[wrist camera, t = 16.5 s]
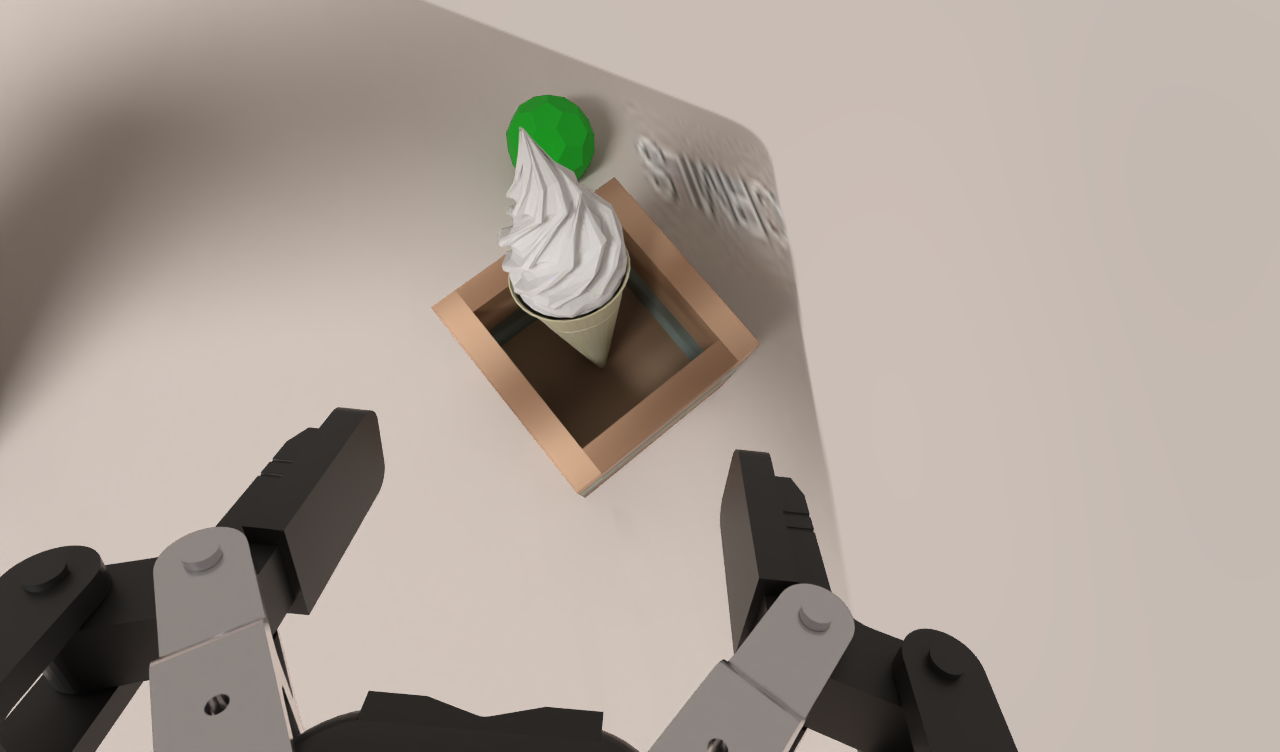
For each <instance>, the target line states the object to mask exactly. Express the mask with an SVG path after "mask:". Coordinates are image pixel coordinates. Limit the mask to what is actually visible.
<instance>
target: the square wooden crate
mask: <svg viewBox="0 0 1280 752" xmlns="http://www.w3.org/2000/svg"><path fill="white" fill-rule="evenodd" d="M594 193H596V194H597V195H599V196H600V197H601V198H603V199H604V200H606V201H607V202H609V203H610V204H611V205H612V207H613V209H614V211H615V213H616V215H617V217H618V220H619V222H620V224H621V226H622V231H623V237H624V243H625V246H626V248H627V250H628V253H629V257H630V273H629V278H628V280H627V283H626V285H625V287H624V289H623V291H622V297H621V301H620V306H619V310H618V314H617V319H616V323H615V327H614V332H613V336H612V340H611V345H610V349H609V353H608V358H607V362H606V365H605V367H603V368H599V367H598V366H596V365H595V364H594V363H593V362H591V361H590V360H589V359H588V358H586V357H585V356H584V355H583V354H581V353H580V352H579V351H578V350H576V349H575V348H574V347H573V346H571V345H570V344H569V343H568V342H566V341H565V340H564V339H563V338H561V337H560V336H559V335H558V334H557V333H555V332H554V331H553V330H552V329H550V328H549V327H548V326H547V325H546V324H545V323H543V322H542V321H541V320H540V319H538V318H536V317H534V316H531V315H530V314H528V313H527V312H525V311H524V310H523V309H522V308H521V307H520V306H519V305H518V304H517V303H516V301H515V300H514V298H513V297H512V294H511V292H510V289H509V283H508V275H509V272H505V271H503V269H502V262H503V260H504V258H505V256H506V255H504V256H503V257H501V258H500V259H499V260H497V261H496V262H494V263H493V264H492V265H490V266H489V267H487V268H486V269H485V270H483V271H482V272H480V273H479V274H478V275H476V276H475V277H473V278H472V279H470V280H469V281H468V282H466V283H465V284H463V285H462V286H461V287H459V288H458V289H456V290H455V291H454V292H452V293H451V294H449V295H448V296H447V297H445V298H444V299H442V300H441V301H440V302H438V303H437V304H435V305H434V306H432V307H431V308H432V309H433V311H434V312H435V313H436V314H437V316H438V317H439V318H440V320H441V321H442V322H443V323H444V325H445V326H446V327H447V328H448V330H449V331H450V332H451V334H452V335H453V336H454V337H455V339H456V340H457V341H458V342H459V344H460V345H461V346H462V347H463V349H464V350H465V351H466V353H467V354H468V355H469V356H470V358H471V359H472V360H473V361H474V363H475V364H476V365H477V367H478V368H479V369H480V370H481V372H482V373H483V374H484V375H485V377H486V378H487V379H488V381H489V382H490V383H491V384H492V386H493V387H494V388H495V389H496V391H497V392H498V393H499V395H500V396H501V397H502V398H503V400H504V401H505V402H506V403H507V405H508V406H509V407H510V409H511V410H512V411H513V412H514V414H515V415H516V416H517V417H518V419H519V420H520V421H521V422H522V424H523V425H524V426H525V428H526V429H527V430H528V431H529V433H530V434H531V435H532V436H533V438H534V439H535V440H536V442H537V443H538V444H539V445H540V447H541V448H542V449H543V450H544V452H545V453H546V454H547V456H548V457H549V458H550V459H551V461H552V462H553V463H554V464H555V466H556V467H557V468H558V470H559V471H560V472H561V473H562V475H563V476H564V477H565V478H566V480H567V481H568V482H569V484H570V485H571V486H572V487H573V489H574V490H575V491H576V492H577V493H578V494H580V495H581V496H583V497H587V496H588V495H589V494H590V493H592V492H593V491H594V490H595V489H596V488H598V487H599V486H600V485H601V484H603V483H604V482H605V481H606V480H607V479H609V478H610V477H611V476H612V475H614V474H615V473H616V472H617V471H618V470H620V469H621V468H622V467H623V466H624V465H626V464H627V463H628V462H629V461H631V460H632V459H633V458H634V457H635V456H637V455H638V454H639V453H640V452H642V451H643V450H644V449H645V448H646V447H648V446H649V445H650V444H651V443H653V442H654V441H655V440H656V439H657V438H659V437H660V436H661V435H662V434H664V433H665V432H666V431H667V430H668V429H670V428H671V427H672V426H673V425H674V424H676V423H677V422H678V421H679V420H681V419H682V418H683V417H684V416H685V415H687V414H688V413H689V412H690V411H692V410H693V409H694V408H695V407H696V406H698V405H699V404H700V403H701V402H703V401H704V400H705V399H706V398H707V397H709V396H710V395H711V394H712V393H713V392H715V391H716V390H717V389H718V388H720V387H721V386H722V385H723V384H724V383H725V382H726V381H727V379H728V378H729V377H730V376H731V375H732V374H733V373H734V372H735V371H736V369H737V368H738V367H739V366H740V365H741V364H742V363H743V362H744V361H745V360H746V358H747V357H748V356H749V355H750V354H751V353H752V352H753V351H754V350H755V348H756V347H757V346H758V345H759V344H760V343H759V342H758V341H757V339H756V338H755V337H754V336H753V335H752V334H751V333H750V331H749V330H748V329H747V328H746V327H745V326H744V325H743V323H742V322H741V321H740V320H739V319H738V318H737V317H736V315H735V314H734V313H733V312H732V311H731V310H730V309H729V307H728V306H727V305H726V304H725V303H724V302H723V301H722V299H721V298H720V297H719V296H718V295H717V294H716V293H715V291H714V290H713V289H712V288H711V287H710V286H709V285H708V283H707V282H706V281H705V280H704V279H703V278H702V277H701V275H700V274H699V273H698V272H697V271H696V270H695V269H694V267H693V266H692V265H691V264H690V263H689V262H688V261H687V259H686V258H685V257H684V256H683V255H682V254H681V253H680V251H679V250H678V249H677V248H676V247H675V246H674V245H673V243H672V242H671V241H670V240H669V239H668V238H667V237H666V235H665V234H664V233H663V232H662V231H661V230H660V229H659V228H658V226H657V225H656V224H655V223H654V222H653V221H652V220H651V218H650V217H649V216H648V215H647V214H646V213H645V212H644V210H643V209H642V208H641V207H640V206H639V205H638V204H637V202H636V201H635V200H634V199H633V198H632V197H631V196H630V194H629V193H628V192H627V191H626V190H625V189H624V188H623V186H622V185H621V184H620V183H619V182H618V181H617V180H616V178H615V177H614V178H613V179H611V180H610V181H608V182H607V183H606V184H604V185H603V186H601V187H600V188H599V189H597V190H596V191H594ZM511 251H512V250H511Z"/></svg>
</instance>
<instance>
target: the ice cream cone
mask: <svg viewBox="0 0 1280 752" xmlns="http://www.w3.org/2000/svg"><path fill="white" fill-rule="evenodd" d="M519 128H520V127H519ZM506 197H508V198H512V199H514V200H515V202H516V204H515V205H513V206H510V207H509V208H508V210H507V211H506V213H507V214H508V215H509V216H511V217H512V218H513V226H511V227H507V228H503V229H501V230H500V231H499V232H498V244H499V245H500V247H504V246H511V247H512V251H508V252H507V254H506V256H505V258H504V260H503V262H502V269H503V271H505V272H509V275H508V283H509V289H510V292H511V294H512V297H513V298H514V300H515V301H516V303H517V304H518V305H519V306H520V307H521V308H522V309H523V310H524V311H525V312H527V313H528V314H530V315H531V316H534V317H536V318H538V319H540V320H541V321H542V322H543V323H545V324H546V325H547V326H548V327H549V328H550V329H552V330H553V331H554V332H555V333H557V334H558V335H559V336H560V337H561V338H563V339H564V340H565V341H566V342H568V343H569V344H570V345H571V346H573V347H574V348H575V349H576V350H578V351H579V352H580V353H581V354H583V355H584V356H585V357H586V358H588V359H589V360H590V361H591V362H593V363H594V364H595V365H596V366H598V367H599V368H603V367H605V365H606V362H607V358H608V353H609V349H610V345H611V340H612V336H613V332H614V327H615V323H616V319H617V314H618V310H619V306H620V301H621V297H622V291H623V289H624V287H625V285H626V283H627V280H628V278H629V273H630V257H629V253H628V250H627V248H626V246H625V243H624V237H623V231H622V226H621V224H620V222H619V220H618V217H617V215H616V213H615V211H614V209H613V207H612V205H611V204H610V203H609V202H607V201H606V200H604V199H603V198H601V197H600V196H599V195H597V194H596V193H594V192H593V191H591V190H590V189H589V188H587V187H586V186H584V185H580V184H579V183H578V181H577V178H576V176H575V173H574V172H573V171H571V170H569V169H568V168H566V167H564V166H562V165H560V164H558V163H557V162H555V161H554V160H553V159H552V158H551V157H550V156H549V155H548V154H547V153H546V152H545V151H544V150H543V149H542V148H541V147H540V146H539V145H538V144H537V143H536V142H535V141H534V140H533V139H532V138H531V137H530V135H529V134H528V133H527V132H526V131H525V130H524V129H523V128H520V132H519V146H518V156H517V163H516V170H515V177H514V182H513V183H512V185H511V187H510V188H509V190H508V192H507V193H506Z"/></svg>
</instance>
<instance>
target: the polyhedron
mask: <svg viewBox="0 0 1280 752" xmlns="http://www.w3.org/2000/svg"><path fill="white" fill-rule="evenodd" d="M519 127H520V128H523V129H524V130H525V131H526V132H527V133H528V134H529V135H530V137H531V138H532V139H533V140H534V141H535V142H536V143H537V144H538V145H539V146H540V147H541V148H542V149H543V150H544V151H545V152H546V153H547V154H548V155H549V156H550V157H551V158H552V159H553V160H554V161H555V162H557V163H558V164H560V165H562V166H564V167H566V168H568V169H569V170H571V171H573V172H574V173H575V176H576V178H577V179H579V178H580V177H581V176H582V175H583V173H584V172H585V171H586V170H587V168H588V167H589V165H590V162H591V159H592V156H593V154H594V134H593V131H592V128H591V125H590V123H589V120H588V118H587V117H586V116H585V114H584V113H583V112H582V111H581V109H580V108H579V107H578V106H577V105H575V104H574V103H572V102H571V101H569V100H568V99H566V98H564V97H559V96H552V95H544V96H537V97H533V98H531V99H530V100H528V101H526V102H525V103H523V104H521V105H520V106H519V107H518V109H517V111H516V113H515V115H514V116H513V118H512V120H511V123H510V125H509V128H508V130H507V133H506V136H507V144H508V151H509V154H510V157H511V160H512V163H513V166H514V167H515V168H516V163H517V156H518V146H519V132H520V128H519Z"/></svg>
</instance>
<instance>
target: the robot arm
mask: <svg viewBox="0 0 1280 752" xmlns="http://www.w3.org/2000/svg"><path fill="white" fill-rule="evenodd" d="M384 471H385V464H384V457H383V451H382V444H381V438H380V431H379V425H378V419H377V416H376V413H375V412H374V411H370V410H360V409H351V408H341V407H338V408H336V409H334V410H333V411H332V413H331V414H330V415H329V416H328V418H327V419H326V420H325V421H324V423H323V424H322V425H321V427H320V428H307V429H306V430H304V431H303V432H301V433H299V434H298V435H296V436H295V437H293V438H292V439H290V440H288V441H287V442H286V443H285V444H284V445H283V447H282V448H281V449H280V450H279V451H278V453H277V454H276V455H275V456H274V457H273V461H272V462H269V463H268V465H267V466H266V467H265V468H264V469H263V471H262V472H261V476H258V477H257V478H256V479H255V480H254V481H253V482H252V484H251V485H250V486H249V487H248V488H247V490H246V491H245V492H244V493H243V494H242V496H241V497H240V498H239V499H238V500H237V502H236V503H235V504H234V505H233V506H232V508H231V509H230V510H229V511H228V512H227V514H226V515H225V516H224V517H223V518H222V519H221V521H220V522H219V523H218V524H217V525H216V527H212V528H206V529H202V530H198V531H196V532H193V533H190V534H188V535H186V536H184V537H182V538H180V539H178V540H177V541H175V542H174V543H172V544H171V545H170V546H168V547H167V548H166V549H165V550H164V551H163V552H162V553H161V554H160V556H159V557H156V558H151V559H144V560H137V561H131V562H124V563H117V564H110V565H104V563H103V561H102V559H101V557H100V555H99V554H98V553H97V552H96V551H95V550H93V549H92V548H89V547H85V546H64V547H59V548H54V549H50V550H47V551H44V552H41V553H39V554H36V555H34V556H32V557H29V558H27V559H25V560H24V561H22V562H20V563H18V564H17V565H15V566H14V567H12V568H11V569H9V570H8V571H7V572H6V573H5V574H3V575H2V576H1V577H0V752H95V751H96V750H97V748H98V747H99V745H100V744H101V742H102V741H103V739H104V738H105V736H106V735H107V734H108V732H109V731H110V729H111V728H112V726H113V725H114V723H115V722H116V720H117V719H118V717H119V716H120V715H121V713H122V712H123V710H124V709H125V707H126V706H127V704H128V703H129V701H130V700H131V699H132V697H133V696H134V694H135V693H136V691H137V690H138V688H139V687H140V685H141V684H142V682H143V681H147V680H150V698H151V715H152V732H153V749H154V752H639V751H638V750H637V749H635V748H634V747H632V746H631V745H630V744H628V743H627V742H626V741H624V740H622V739H620V738H618V737H617V736H615V735H613V734H610V733H608V732H605V731H603V730H602V722H603V712H597V711H586V710H574V709H563V708H552V707H543V708H537V709H531V710H525V711H519V712H513V713H507V714H501V715H496V716H490V717H481V716H477V715H475V714H472V713H469V712H467V711H464V710H462V709H459V708H456V707H454V706H451V705H449V704H446V703H443V702H441V701H438V700H436V699H433V698H430V697H428V696H420V695H409V694H397V693H386V692H375V691H369V692H368V694H367V697H366V699H365V701H364V704H363V706H362V709H361V710H360V711H355V712H351V713H347V714H344V715H340V716H337V717H334V718H332V719H329V720H327V721H324V722H322V723H320V724H318V725H316V726H314V727H312V728H310V729H308V730H307V731H304V728H303V725H302V721H301V718H300V714H299V710H298V707H297V702H296V698H295V694H294V690H293V686H292V682H291V678H290V674H289V670H288V666H287V662H286V658H285V653H284V649H283V645H282V641H281V637H280V634H279V631H278V627H279V625H280V623H281V622H282V620H283V619H284V617H285V615H286V614H287V613H293V614H304V615H309V614H310V612H311V611H312V609H313V607H314V605H315V604H316V602H317V600H318V598H319V597H320V595H321V593H322V591H323V590H324V588H325V586H326V584H327V583H328V581H329V579H330V577H331V575H332V574H333V572H334V570H335V568H336V567H337V565H338V563H339V561H340V560H341V558H342V556H343V554H344V553H345V551H346V549H347V547H348V546H349V544H350V542H351V540H352V539H353V537H354V535H355V533H356V532H357V530H358V528H359V526H360V525H361V523H362V521H363V519H364V517H365V516H366V514H367V512H368V510H369V509H370V507H371V505H372V503H373V502H374V500H375V498H376V496H377V495H378V493H379V491H380V489H381V486H382V483H383V478H384ZM720 527H721V537H722V546H723V555H724V565H725V574H726V584H727V593H728V602H729V612H730V621H731V630H732V640H733V649H734V656H733V657H732V658H731V659H730V660H729V661H728V662H727V661H726V660H722V661H720V662H719V663H718V664H717V665H716V666H715V667H714V668H713V670H712V671H711V672H710V673H709V675H708V676H707V677H706V678H705V680H704V681H703V682H702V684H701V685H700V686H699V687H698V689H697V690H696V691H695V692H694V694H693V695H692V696H691V698H690V699H689V700H688V701H687V703H686V704H685V705H684V706H683V708H682V709H681V710H680V711H679V713H678V714H677V715H676V717H675V718H674V719H673V720H672V722H671V723H670V724H669V725H668V727H667V728H666V729H665V731H664V732H663V733H662V734H661V736H660V737H659V738H658V739H657V741H656V742H655V743H654V745H653V746H652V747H651V748H650V750H649V751H648V752H795V751H796V750H797V748H798V746H799V744H800V743H801V741H802V739H803V737H804V736H805V734H806V732H807V730H808V729H812V730H814V731H816V732H819V733H821V734H823V735H825V736H828V737H830V738H832V739H835V740H837V741H839V742H842V743H844V744H846V745H848V746H851V747H853V748H855V749H857V750H858V752H1018V750H1017V748H1016V746H1015V744H1014V741H1013V738H1012V736H1011V733H1010V731H1009V729H1008V726H1007V724H1006V721H1005V719H1004V716H1003V714H1002V712H1001V709H1000V707H999V704H998V702H997V700H996V697H995V695H994V692H993V690H992V687H991V685H990V683H989V680H988V678H987V675H986V673H985V671H984V668H983V666H982V665H981V663H980V661H979V660H978V659H977V657H976V656H975V655H974V654H973V652H972V651H971V650H970V649H969V648H967V647H966V646H965V645H964V644H963V643H961V642H960V641H958V640H957V639H955V638H954V637H952V636H950V635H948V634H946V633H943V632H940V631H937V630H932V629H918V630H915V631H913V632H911V633H909V634H908V635H907V636H906V638H905V639H904V641H903V640H900V639H898V638H895V637H892V636H890V635H887V634H884V633H882V632H879V631H876V630H874V629H872V628H869V627H867V626H865V625H863V624H861V623H860V622H858V621H856V620H855V619H854V618H853V616H852V614H851V612H850V610H849V609H848V607H847V606H846V605H845V603H844V602H843V601H842V600H841V599H840V598H839V597H838V596H836V595H835V594H833V593H832V591H831V589H830V585H829V582H828V578H827V575H826V571H825V568H824V564H823V560H822V557H821V553H820V550H819V546H818V543H817V539H816V535H815V533H814V532H813V530H814V528H813V525H812V521H811V518H810V517H809V510H808V507H807V503H806V500H805V496H804V494H803V493H802V492H801V491H800V489H799V488H798V487H797V485H796V484H795V483H794V482H793V480H792V479H791V478H787V477H777V476H775V475H774V470H773V466H772V462H771V457H770V455H769V453H766V452H756V451H747V450H737V449H736V450H735V451H734V453H733V457H732V461H731V465H730V469H729V473H728V477H727V481H726V486H725V490H724V494H723V498H722V503H721V513H720ZM42 673H43V675H42V676H41V678H40V679H39V680H38V681H37V682H36V684H35V685H34V686H33V687H32V688H31V690H30V691H29V692H28V693H27V694H26V696H25V697H24V698H23V699H22V700H21V702H20V703H19V704H18V705H17V706H16V708H15V709H14V710H13V711H12V712H11V713H10V715H9V716H8V717H7V715H8V713H9V712H10V711H11V709H12V708H13V707H14V706H15V704H16V703H17V702H18V701H19V700H20V698H21V697H22V696H23V695H24V694H25V693H26V691H27V690H28V689H29V688H30V687H31V685H32V684H33V683H34V682H35V681H36V679H37V678H38V677H39V676H40V675H41V674H42ZM6 717H7V718H6Z"/></svg>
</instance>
